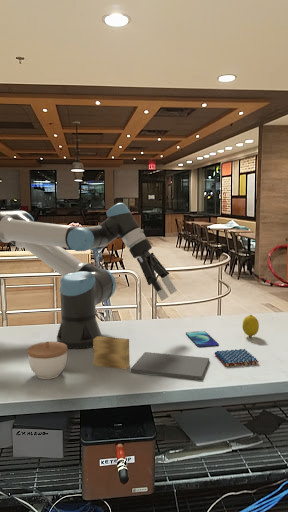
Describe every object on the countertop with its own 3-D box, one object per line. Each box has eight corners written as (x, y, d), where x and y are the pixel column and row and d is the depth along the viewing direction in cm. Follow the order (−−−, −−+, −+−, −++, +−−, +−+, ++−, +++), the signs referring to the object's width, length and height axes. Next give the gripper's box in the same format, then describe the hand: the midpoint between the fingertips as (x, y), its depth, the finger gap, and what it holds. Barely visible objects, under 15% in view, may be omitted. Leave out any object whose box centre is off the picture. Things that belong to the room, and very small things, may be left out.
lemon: (239, 335, 150) (239, 313, 149) (251, 333, 152) (252, 312, 151) (248, 340, 145) (249, 317, 144) (262, 338, 147) (262, 315, 146)
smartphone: (197, 346, 139) (185, 332, 153) (197, 349, 139) (185, 334, 153) (219, 344, 140) (205, 330, 155) (219, 347, 140) (205, 333, 155)
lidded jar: (70, 366, 124) (69, 335, 122) (64, 382, 113) (63, 348, 112) (33, 367, 123) (32, 336, 122) (24, 383, 113) (22, 349, 112)
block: (94, 365, 124) (93, 339, 123) (98, 362, 127) (97, 336, 126) (126, 369, 122) (125, 342, 121) (129, 365, 124) (129, 338, 123)
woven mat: (260, 366, 123) (260, 359, 123) (225, 369, 122) (225, 362, 121) (245, 353, 134) (245, 347, 133) (213, 356, 132) (213, 350, 132)
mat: (130, 372, 119) (130, 368, 119) (145, 355, 132) (145, 352, 132) (201, 380, 113) (201, 376, 113) (209, 361, 127) (209, 358, 126)
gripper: (135, 239, 135) (171, 295, 133) (155, 236, 159) (185, 285, 157) (116, 251, 137) (151, 307, 135) (139, 247, 161) (169, 295, 159)
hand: (169, 295), depth 146 cm, fingers open, 13 cm apart
